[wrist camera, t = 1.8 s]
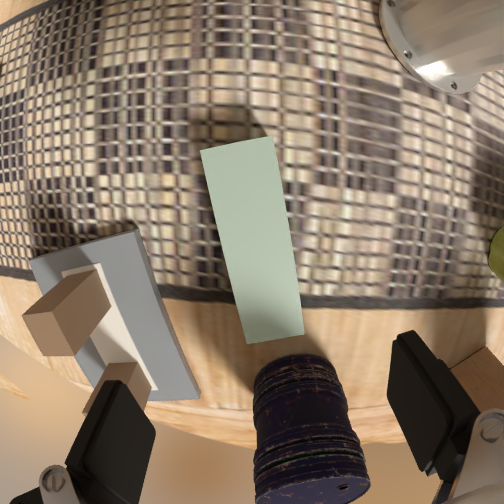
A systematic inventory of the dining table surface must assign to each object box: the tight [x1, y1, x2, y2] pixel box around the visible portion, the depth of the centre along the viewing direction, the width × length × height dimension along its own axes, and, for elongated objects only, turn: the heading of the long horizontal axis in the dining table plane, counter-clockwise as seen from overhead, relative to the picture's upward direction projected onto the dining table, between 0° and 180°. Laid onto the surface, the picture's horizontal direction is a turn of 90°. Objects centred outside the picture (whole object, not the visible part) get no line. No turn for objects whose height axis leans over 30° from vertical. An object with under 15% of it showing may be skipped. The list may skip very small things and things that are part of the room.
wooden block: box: [450, 347, 504, 413], centre depth 23 cm, size 10×10×20 cm
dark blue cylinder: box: [253, 354, 371, 504], centre depth 24 cm, size 10×10×15 cm
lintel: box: [200, 136, 305, 344], centre depth 23 cm, size 16×5×4 cm, turn 11°
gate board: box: [22, 228, 201, 417], centre depth 24 cm, size 20×14×9 cm
